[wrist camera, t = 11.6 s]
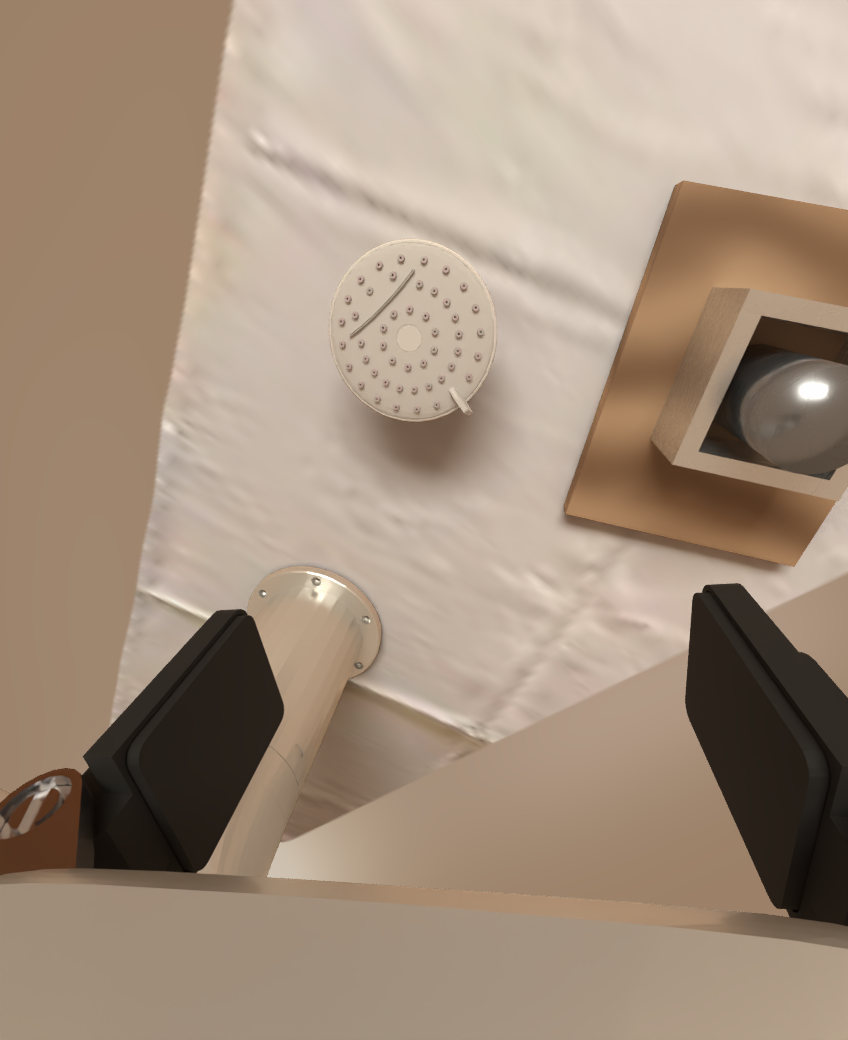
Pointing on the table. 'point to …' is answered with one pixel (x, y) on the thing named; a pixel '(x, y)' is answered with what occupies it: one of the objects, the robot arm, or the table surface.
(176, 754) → the robot arm
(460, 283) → the showerhead
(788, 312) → the board
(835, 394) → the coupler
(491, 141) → the table surface
